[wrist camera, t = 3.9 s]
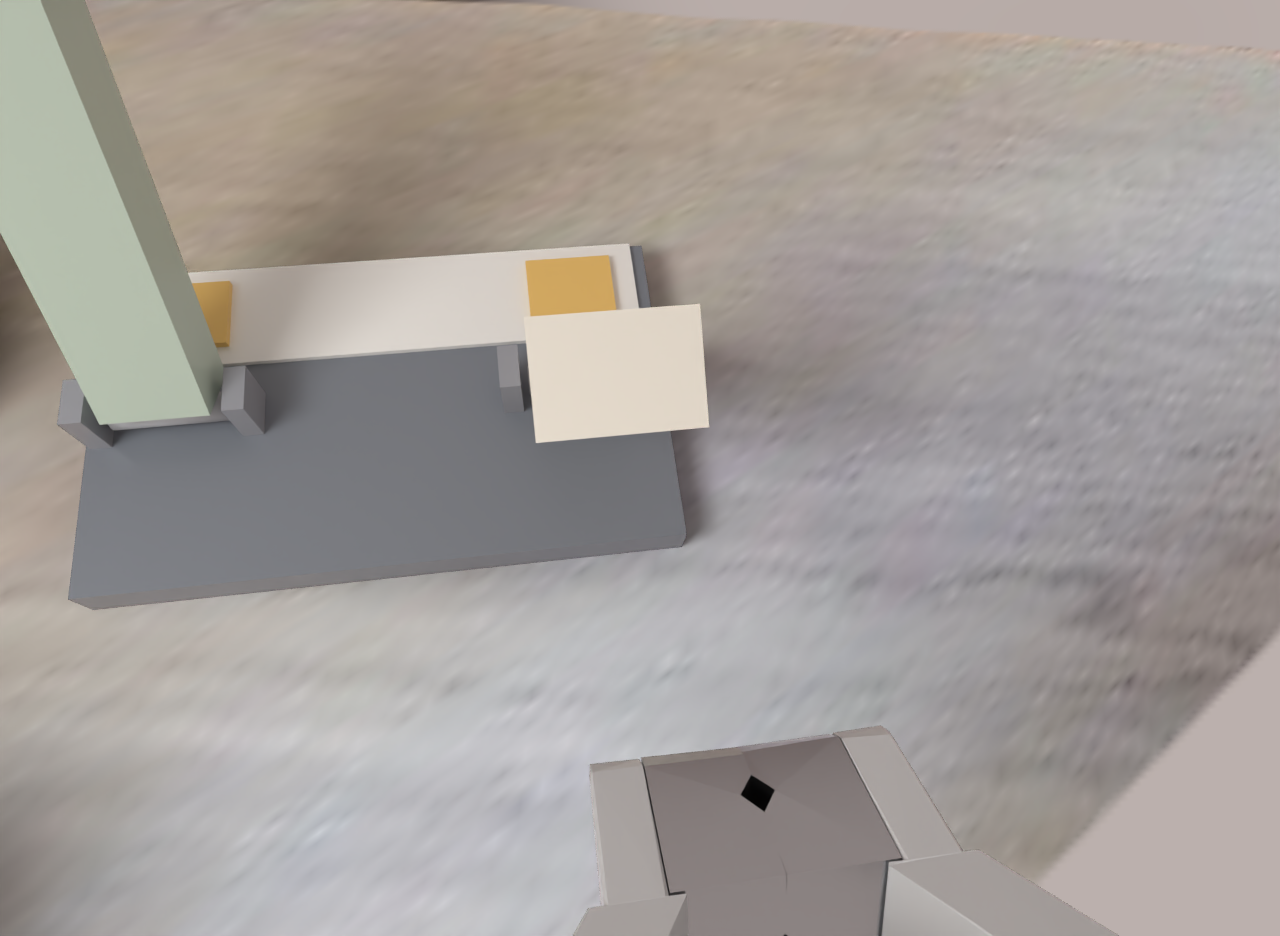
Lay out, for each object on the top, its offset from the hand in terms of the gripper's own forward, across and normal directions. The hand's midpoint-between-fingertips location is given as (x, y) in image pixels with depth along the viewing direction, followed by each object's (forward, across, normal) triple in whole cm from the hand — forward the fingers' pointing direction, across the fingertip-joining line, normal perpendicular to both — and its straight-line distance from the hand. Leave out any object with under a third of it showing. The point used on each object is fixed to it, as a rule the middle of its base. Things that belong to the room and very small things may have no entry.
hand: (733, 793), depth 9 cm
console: (+24, +7, +4) cm, 26 cm away
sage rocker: (+23, +14, +2) cm, 27 cm away
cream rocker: (+23, 0, +2) cm, 23 cm away
